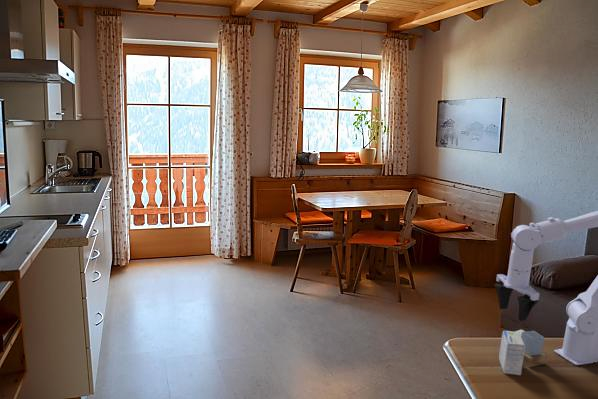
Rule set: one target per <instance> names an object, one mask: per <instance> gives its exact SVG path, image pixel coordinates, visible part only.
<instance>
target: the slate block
mask: <svg viewBox="0 0 598 399" xmlns="http://www.w3.org/2000/svg"><path fill="white" fill-rule="evenodd" d="M521 338H522V340H523V342H524V345H525V351H524V352H525V353H526V354H528V355H529V356H532V355H541V354H542V353H543V349H544V343H545V336H543V335H542V334H540V333H538V332H537V331H535V330H528V331H527V330H526V332H522V335H521Z"/></svg>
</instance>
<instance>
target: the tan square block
mask: <svg viewBox="0 0 598 399" xmlns="http://www.w3.org/2000/svg"><path fill="white" fill-rule="evenodd" d="M546 358H547V355H546V353H544V352H542V354H541V355H532V356H529V355H528V354H526V353H525V352H524V357H523V364H522V365H523V366H526V367H527V368H533V367H536V366H541V365H545V363H546Z"/></svg>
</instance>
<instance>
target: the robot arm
mask: <svg viewBox="0 0 598 399" xmlns="http://www.w3.org/2000/svg"><path fill="white" fill-rule="evenodd" d="M593 228H598V210H596V211H591V212H589V213H585V214H582V215H579V216H575V217H572V218H568V219H566V220H562V219H560V218H558V217H555V218H554V217H553V216H550V217H548V218H547V220H544V221H539V222H537V223H534V222H529V225H526V224H520V225H517V226H515V228H513V230H512V232H510V237H511V240H512V247H511V251H510V256H509V264H508V270H507V275H505V274H502V273H500V274H499V273H498V274H496V282H498V283H495V284H494V288H495V290H496V294H497V298H498V305H499V306H498V307H499V309H500V310H506V309H508V307H509V302H510V298H511V295H512V293H513V290H515V291H517V292H518V293H520V294H522V295H521V296H520V295H519V296H517V301H518V315H517V319H518V321H520V322H522V321H525V322H526V321H527V319H528V316H529V314H530V312H531V311H532V309H533V308H534V306H535V305H537V303H539V302H540V301H539V300H540V292H538V291H536V290H535V289H534V288H533V287H532V286H531V285H530V279H531V272H532V266H533V260H534V252H535V249H537V247H538V246H539V245H542V244H547V243H551V242H554V241H559V240H564V239H565V238H566V237H567V235H568V234H569V233H573V232H580V231H583V230H588V229H593ZM565 307H566V308H565V309H566V310H565V312H566V314H567V316H568V320H567V321H566V327H565V333H564V336H563V342H562V347H561V348H558V349H554V350H553V352H554V353H556V354H558V355H560V357H562V358H564V359H565V360H567V361H569V362H570V363H571V364H573V365H575V366H580V365H582V366H583V365H587V364H593V363H594V362H595V363H598V362H597V361H598V274H597V276H596V277H595V279H594V280H593V281H592V283H591V284H590V285H589V287H588V288H587V289H586V291H584V292H581V293H579V294H578V295H577V297H575V298H574V299H573V300H571V301H569V302H568V303H567V305H566V306H565ZM595 363H594V364H595Z"/></svg>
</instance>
